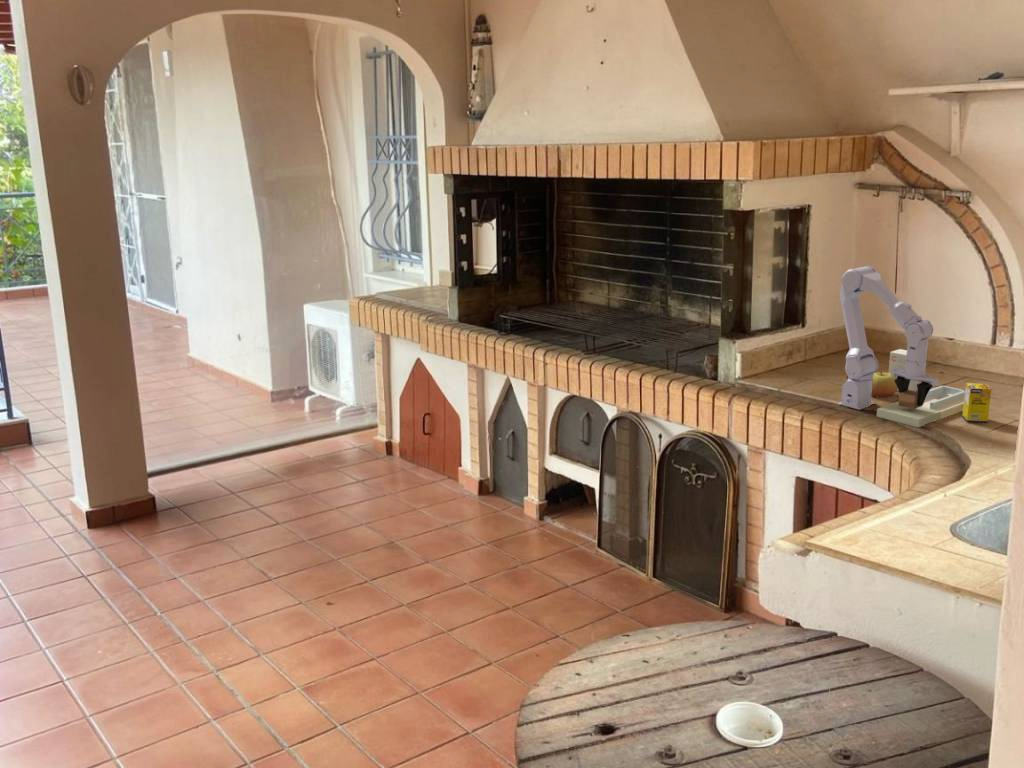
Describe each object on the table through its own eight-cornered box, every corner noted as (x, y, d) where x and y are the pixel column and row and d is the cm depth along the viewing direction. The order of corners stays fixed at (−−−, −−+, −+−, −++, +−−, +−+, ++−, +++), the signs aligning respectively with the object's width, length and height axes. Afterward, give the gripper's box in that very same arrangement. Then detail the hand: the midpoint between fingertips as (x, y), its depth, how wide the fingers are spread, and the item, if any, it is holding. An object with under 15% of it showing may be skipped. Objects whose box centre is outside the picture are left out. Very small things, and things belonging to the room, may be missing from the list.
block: (913, 409, 293) (914, 396, 292) (898, 405, 297) (899, 393, 296) (922, 406, 296) (923, 393, 295) (907, 402, 300) (908, 389, 298)
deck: (918, 427, 288) (919, 413, 287) (876, 416, 299) (877, 402, 298) (974, 406, 306) (976, 392, 305) (933, 396, 317) (934, 383, 316)
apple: (868, 389, 327) (870, 366, 324) (899, 393, 322) (901, 370, 319) (862, 397, 318) (864, 373, 316) (893, 401, 314) (896, 377, 311)
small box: (918, 390, 324) (922, 352, 321) (909, 394, 321) (912, 356, 317) (896, 385, 331) (899, 348, 327) (886, 389, 327) (889, 351, 323)
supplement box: (987, 423, 290) (992, 388, 287) (966, 423, 291) (970, 388, 288) (982, 417, 295) (986, 383, 292) (961, 417, 297) (965, 382, 294)
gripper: (945, 362, 289) (941, 405, 293) (901, 353, 300) (897, 395, 304) (933, 366, 285) (928, 410, 289) (888, 357, 296) (884, 399, 300)
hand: (911, 403), depth 296 cm, fingers closed on block, 5 cm apart
